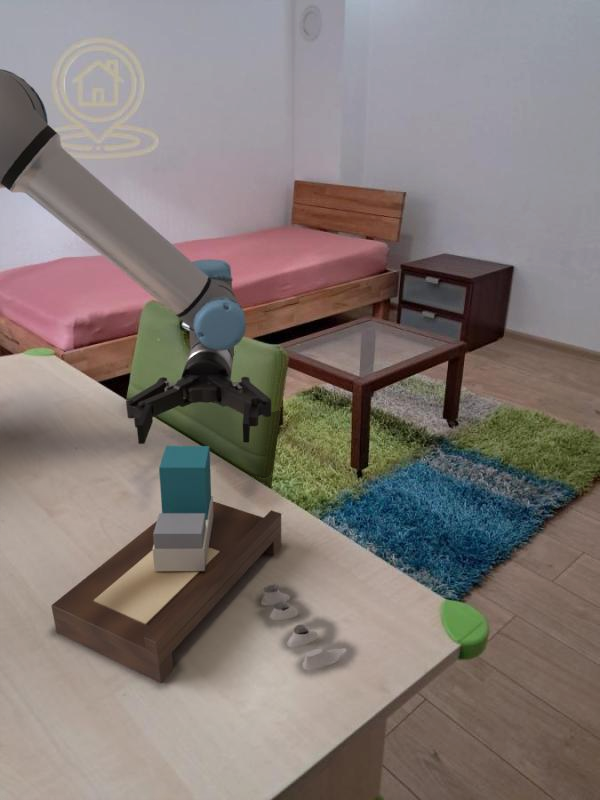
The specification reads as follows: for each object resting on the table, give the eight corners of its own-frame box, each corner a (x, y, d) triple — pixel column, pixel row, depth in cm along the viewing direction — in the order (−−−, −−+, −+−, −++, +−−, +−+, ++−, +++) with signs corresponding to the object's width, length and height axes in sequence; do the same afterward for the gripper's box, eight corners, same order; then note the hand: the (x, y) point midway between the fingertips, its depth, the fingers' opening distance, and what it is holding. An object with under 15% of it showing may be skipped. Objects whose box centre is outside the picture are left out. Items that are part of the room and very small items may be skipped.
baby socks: (255, 606, 72) (254, 588, 71) (296, 591, 74) (296, 573, 73) (306, 682, 62) (307, 663, 61) (352, 662, 65) (353, 643, 64)
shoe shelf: (57, 637, 67) (48, 593, 65) (192, 521, 87) (189, 484, 84) (161, 689, 62) (156, 643, 59) (281, 552, 81) (281, 513, 78)
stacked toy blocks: (168, 516, 80) (164, 445, 76) (213, 516, 80) (211, 445, 76) (154, 571, 70) (148, 493, 66) (205, 571, 70) (202, 493, 66)
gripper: (285, 393, 103) (289, 457, 84) (131, 394, 102) (99, 460, 83) (285, 349, 100) (289, 406, 81) (126, 351, 99) (92, 409, 80)
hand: (193, 434), depth 82 cm, fingers open, 13 cm apart
